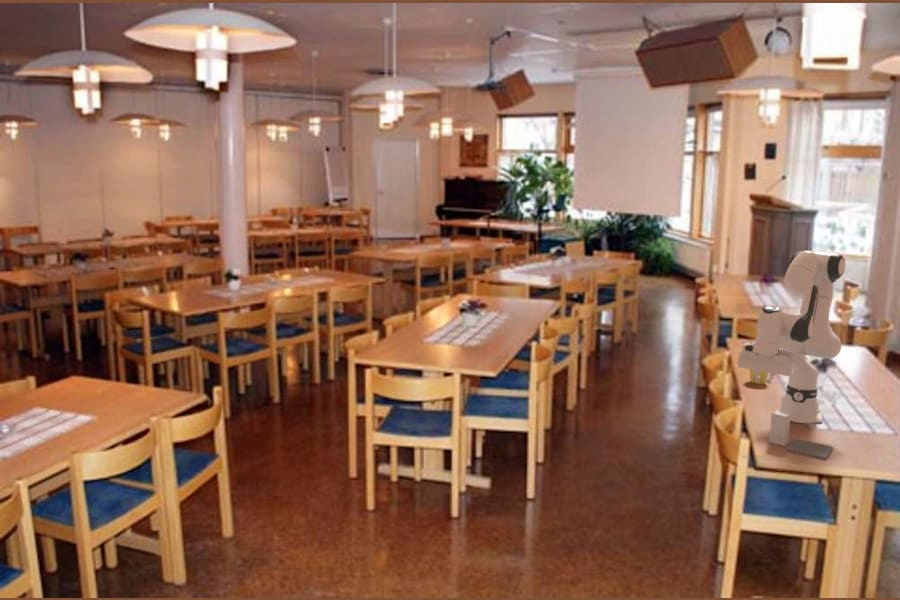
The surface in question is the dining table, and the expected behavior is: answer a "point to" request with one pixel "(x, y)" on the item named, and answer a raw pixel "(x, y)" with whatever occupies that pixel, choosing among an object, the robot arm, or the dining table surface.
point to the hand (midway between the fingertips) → (763, 382)
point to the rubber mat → (809, 449)
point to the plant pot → (760, 374)
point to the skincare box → (779, 428)
